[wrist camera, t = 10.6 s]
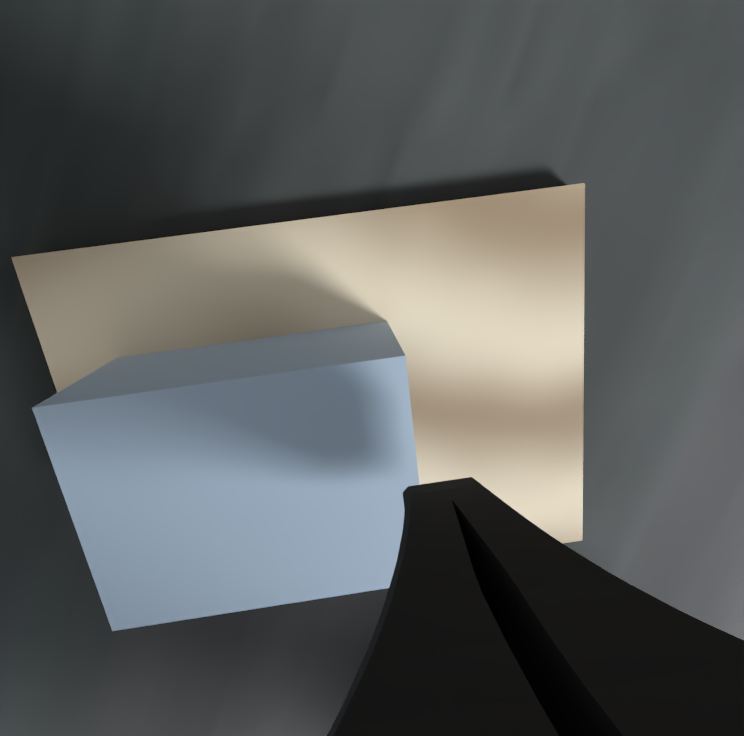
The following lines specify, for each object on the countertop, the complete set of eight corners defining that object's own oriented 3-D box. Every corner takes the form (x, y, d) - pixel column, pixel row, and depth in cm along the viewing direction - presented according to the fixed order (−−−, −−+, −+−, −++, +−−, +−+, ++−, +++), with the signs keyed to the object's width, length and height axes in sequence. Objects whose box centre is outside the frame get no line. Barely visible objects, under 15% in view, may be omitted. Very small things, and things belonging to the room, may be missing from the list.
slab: (429, 581, 12) (110, 631, 12) (407, 495, 16) (166, 532, 16) (405, 355, 10) (29, 408, 10) (386, 321, 14) (114, 358, 14)
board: (569, 523, 18) (582, 540, 17) (142, 588, 17) (131, 610, 16) (568, 185, 14) (585, 182, 13) (33, 254, 14) (11, 256, 13)
